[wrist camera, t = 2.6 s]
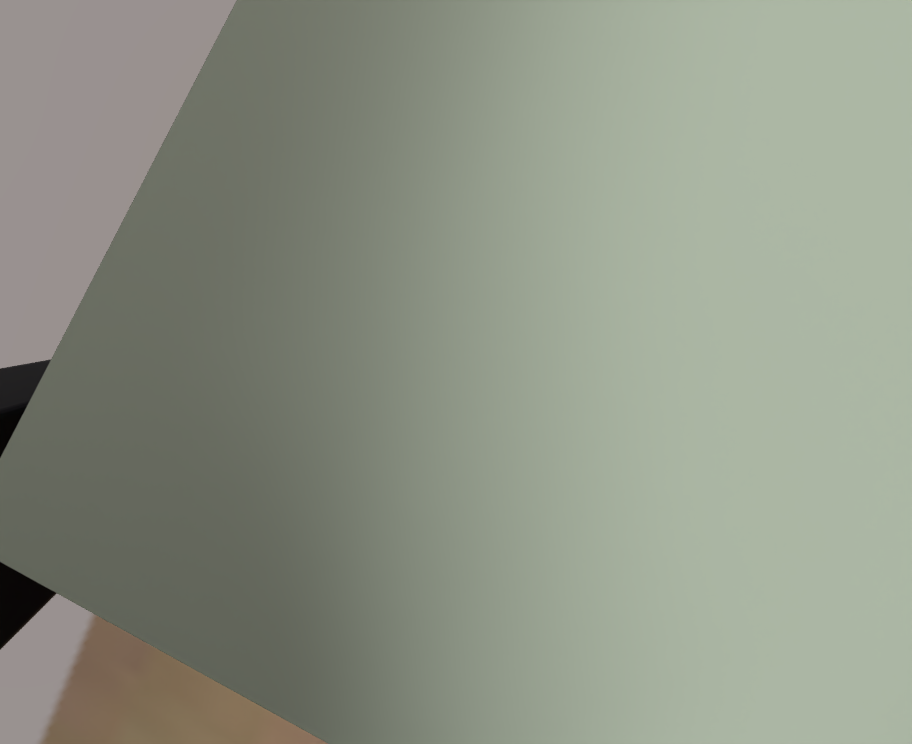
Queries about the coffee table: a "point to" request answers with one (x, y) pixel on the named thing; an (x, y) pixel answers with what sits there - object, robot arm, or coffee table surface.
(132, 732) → the coffee table surface
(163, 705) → the coffee table surface
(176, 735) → the coffee table surface
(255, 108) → the sage block
